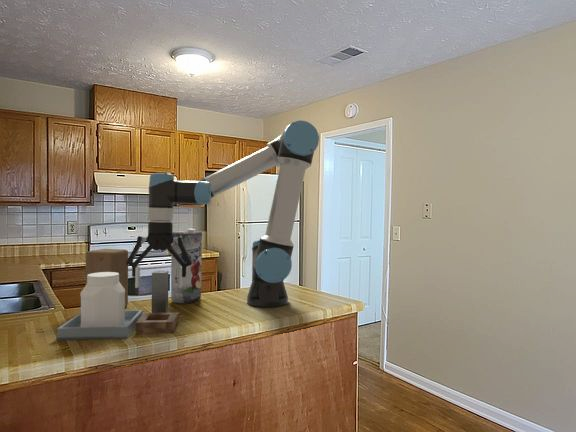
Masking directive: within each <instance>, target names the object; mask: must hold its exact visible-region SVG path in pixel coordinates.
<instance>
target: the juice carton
mask: <svg viewBox="0 0 576 432" xmlns="http://www.w3.org/2000/svg"><path fill="white" fill-rule="evenodd" d="M172 235H173V238H176V237H180V236H181V237H182V239H183V244H184V246H185V248H186V250H187V253H188V255H189V257H190V259H191V261H192V264H191V265H190V266H187V267H186V276H185V277H183V286H182V288H179V268H180V267H182V266H181V265H180V264H179V262H178V261H177V260H176V259H175V258H174V256H173V255H172V254H171V253H170V255H171V258H170V259H171V263H170V264H171V265H170V266H171V268H170V269H171V270H170V271H171V272H170V274H171V275H170V276H171V277H170V279H171V280H170V281H171V282H170V284H171V285H170V299H171V302H172V303H178V304H186V305H187V304H191V303H193V302H196V301H199V300H201V297H202V251H203V250H202V238H203V237H202V236H203V232H202V231H196V229H195V228H187V230H185V231H182V232H177V231H175V232H173V233H172ZM171 246H172V247H173V248H174V250H175V251H176V252H177V253H178V254H179V255H180V257H181V258H182V259H183V260H184V261H185V263H186V260H185V258H184V256H183V254H182V252H181V250H180V248H179V245H178V244H177V243H176V242H175V241H173V243H172V244H171Z"/></svg>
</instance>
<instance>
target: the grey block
mask: <svg viewBox="0 0 576 432" xmlns="http://www.w3.org/2000/svg"><path fill="white" fill-rule="evenodd" d="M151 313H169V270H153V271H152V272H151Z"/></svg>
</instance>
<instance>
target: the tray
mask: <svg viewBox="0 0 576 432" xmlns="http://www.w3.org/2000/svg"><path fill="white" fill-rule="evenodd" d="M143 310H144V309H130V310H129V309H128V310H127V309H125V325H124V326H109V327H80V324H81V312H79V313H78V314H77V315H74V316H73V317H72V318H70V319H69V320H67V321H66V322H65V323H63V324H61V325H60V326H59V327H57V328H56V340H57V341H66V340H67V341H69V340H71V341H73V340H76V341H78V340H102V339H103V340H107V339H108V340H110V339H128V338H129V337H130V336H131V334H132V333H133V332H134V331H136V322H137V321H138V320H139V318H140V317H141V316H142V315H143V314H144V311H143Z"/></svg>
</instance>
